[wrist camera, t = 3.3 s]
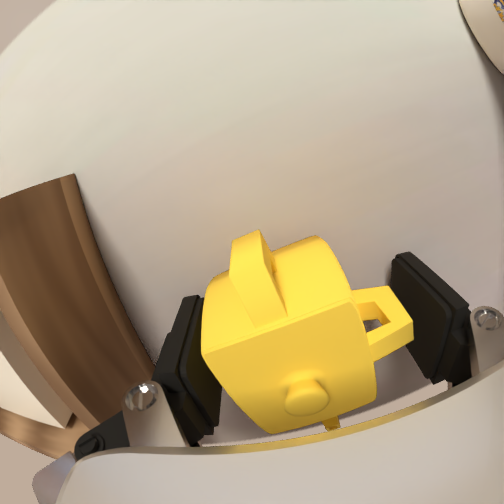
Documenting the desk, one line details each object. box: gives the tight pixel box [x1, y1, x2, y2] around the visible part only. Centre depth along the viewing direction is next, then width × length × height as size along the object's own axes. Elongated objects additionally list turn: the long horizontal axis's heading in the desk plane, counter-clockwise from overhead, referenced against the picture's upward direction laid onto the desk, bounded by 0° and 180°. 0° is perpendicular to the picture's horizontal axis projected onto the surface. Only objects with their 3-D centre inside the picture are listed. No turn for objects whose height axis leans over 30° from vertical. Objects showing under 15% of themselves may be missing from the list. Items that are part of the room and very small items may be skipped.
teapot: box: [201, 230, 414, 434], centre depth 8 cm, size 8×6×5 cm
